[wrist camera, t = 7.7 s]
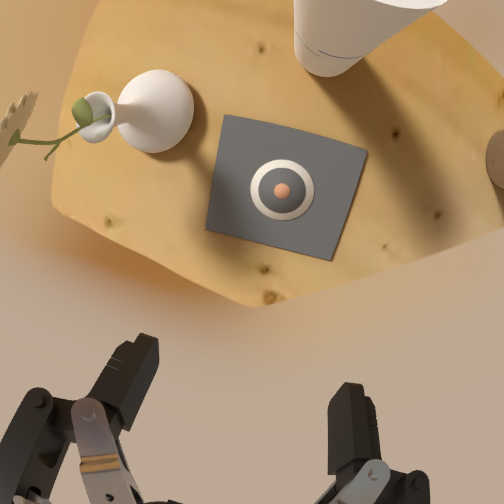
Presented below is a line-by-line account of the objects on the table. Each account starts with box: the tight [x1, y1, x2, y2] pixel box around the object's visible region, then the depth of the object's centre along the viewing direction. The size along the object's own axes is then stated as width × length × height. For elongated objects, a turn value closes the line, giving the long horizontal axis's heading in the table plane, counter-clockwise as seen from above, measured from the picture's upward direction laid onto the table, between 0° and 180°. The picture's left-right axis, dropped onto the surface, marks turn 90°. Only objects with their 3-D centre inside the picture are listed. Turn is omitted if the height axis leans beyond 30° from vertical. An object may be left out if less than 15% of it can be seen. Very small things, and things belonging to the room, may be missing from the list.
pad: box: [205, 115, 367, 260], centre depth 35 cm, size 18×16×1 cm
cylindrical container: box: [294, 0, 447, 77], centre depth 15 cm, size 7×7×25 cm
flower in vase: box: [0, 70, 194, 168], centre depth 22 cm, size 13×11×25 cm
